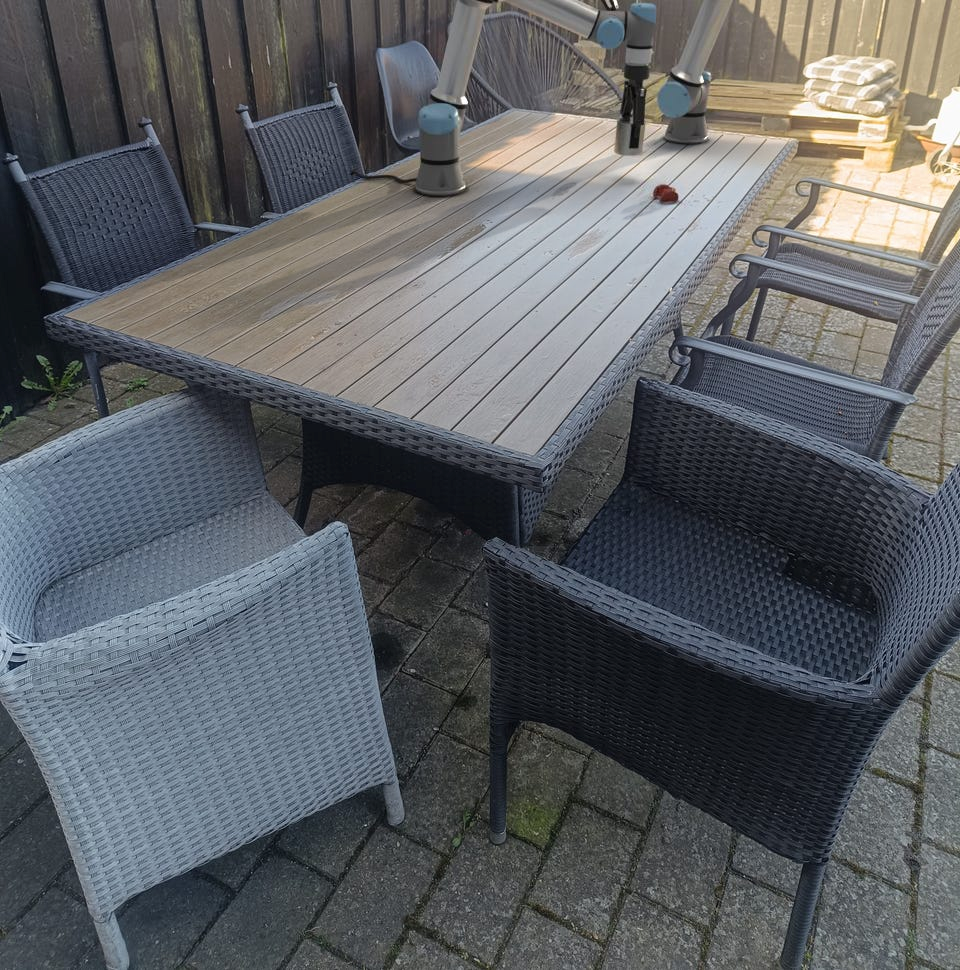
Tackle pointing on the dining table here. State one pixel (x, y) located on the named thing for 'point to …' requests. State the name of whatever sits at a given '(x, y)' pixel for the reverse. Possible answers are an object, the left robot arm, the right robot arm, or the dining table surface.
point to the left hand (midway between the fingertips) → (628, 144)
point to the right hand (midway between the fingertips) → (588, 32)
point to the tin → (627, 138)
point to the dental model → (665, 193)
